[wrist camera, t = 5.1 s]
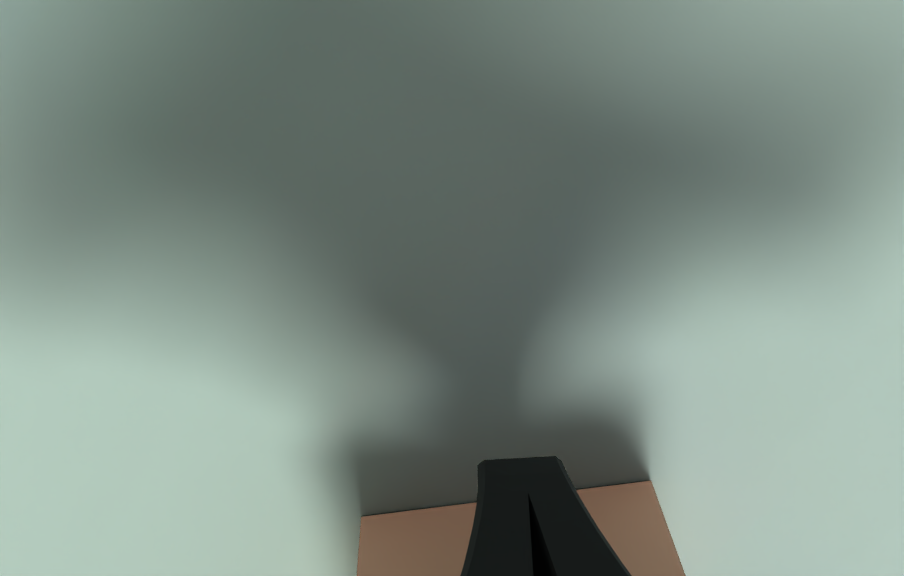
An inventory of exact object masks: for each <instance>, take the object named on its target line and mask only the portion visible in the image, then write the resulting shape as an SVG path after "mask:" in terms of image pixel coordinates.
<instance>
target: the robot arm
mask: <svg viewBox="0 0 904 576" xmlns="http://www.w3.org/2000/svg"><path fill="white" fill-rule="evenodd" d="M460 576H632V575H631V574H630V573H629V571H628V570H627V569H626V567H625V566H624V564H623V563H622V562H621V560H620V559H619V557H618V556H617V554H616V553H615V551H614V550H613V548H612V547H611V546H610V544H609V543H608V541H607V540H606V538H605V537H604V535H603V534H602V532H601V531H600V529H599V528H598V526H597V525H596V523H595V521H594V520H593V518H592V517H591V515H590V513H589V512H588V510H587V508H586V507H585V505H584V503H583V502H582V500H581V498H580V496H579V495H578V493H577V491H576V489H575V488H574V486H573V484H572V482H571V480H570V478H569V476H568V474H567V472H566V470H565V468H564V466H563V464H562V461H561V460H559V459H558V458H557V457H556V456H551V457H532V458H514V459H495V460H484V461H482V462H481V463H480V464H479V465H478V495H477V504H476V510H475V516H474V522H473V527H472V532H471V536H470V540H469V545H468V549H467V553H466V557H465V561H464V565H463V569H462V572H461V575H460Z"/></svg>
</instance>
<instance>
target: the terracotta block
mask: <svg viewBox="0 0 904 576" xmlns="http://www.w3.org/2000/svg"><path fill="white" fill-rule="evenodd" d="M576 491H577V493H578V495H579V496H580V498H581V500H582V502H583V503H584V505H585V507H586V508H587V510H588V512H589V513H590V515H591V517H592V518H593V520H594V521H595V523H596V525H597V526H598V528H599V529H600V531H601V532H602V534H603V535H604V537H605V538H606V540H607V541H608V543H609V544H610V546H611V547H612V548H613V550H614V551H615V553H616V554H617V556H618V557H619V559H620V560H621V562H622V563H623V564H624V566H625V567H626V569H627V570H628V571H629V573H630V574H631V575H632V576H685V573H684V570H683V567H682V565H681V562H680V559H679V556H678V554H677V551H676V548H675V545H674V543H673V540H672V537H671V534H670V532H669V529H668V526H667V523H666V521H665V518H664V515H663V512H662V510H661V507H660V504H659V501H658V499H657V496H656V493H655V490H654V488H653V485H652V482H651V481H644V482H636V483H628V484H620V485H612V486H604V487H596V488H588V489H580V490H576ZM476 504H477V502H476V503H468V504H460V505H452V506H444V507H435V508H427V509H419V510H411V511H403V512H395V513H387V514H379V515H371V516H363V517H361V526H360V539H359V552H358V565H357V576H460V575H461V572H462V569H463V565H464V561H465V557H466V553H467V549H468V545H469V540H470V536H471V532H472V527H473V522H474V516H475V510H476Z"/></svg>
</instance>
